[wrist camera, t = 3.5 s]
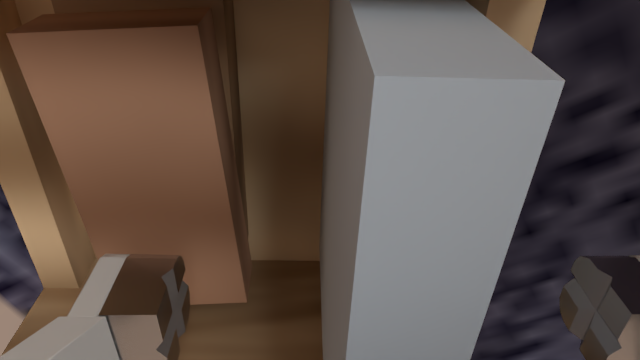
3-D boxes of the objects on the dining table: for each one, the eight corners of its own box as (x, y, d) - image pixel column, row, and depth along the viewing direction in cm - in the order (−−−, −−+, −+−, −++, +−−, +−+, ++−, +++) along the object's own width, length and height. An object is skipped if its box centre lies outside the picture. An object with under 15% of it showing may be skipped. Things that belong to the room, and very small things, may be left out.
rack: (-63, -164, 11) (-613, -220, 4) (508, -140, 12) (774, -159, 5) (81, 263, 19) (-42, 476, 12) (422, 266, 19) (482, 472, 13)
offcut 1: (73, -40, 12) (43, -29, 10) (231, -35, 12) (221, -23, 11) (137, 232, 17) (122, 263, 15) (248, 233, 17) (243, 264, 16)
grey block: (332, -53, 12) (375, 76, 4) (402, -51, 12) (564, 79, 4) (319, 244, 17) (328, 529, 10) (367, 245, 17) (413, 528, 10)
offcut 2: (42, 14, 11) (6, 33, 10) (210, 6, 11) (197, 25, 10) (133, 270, 16) (117, 307, 14) (252, 265, 16) (247, 302, 14)
